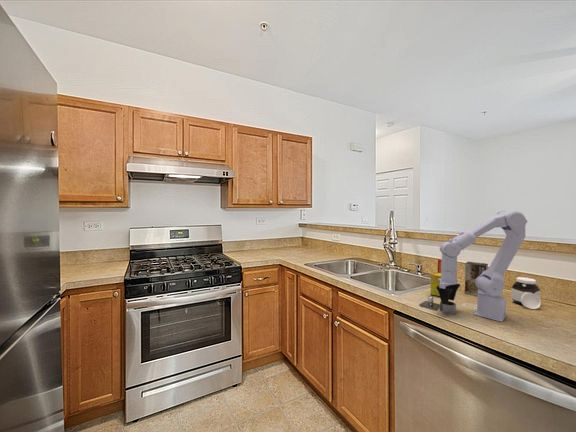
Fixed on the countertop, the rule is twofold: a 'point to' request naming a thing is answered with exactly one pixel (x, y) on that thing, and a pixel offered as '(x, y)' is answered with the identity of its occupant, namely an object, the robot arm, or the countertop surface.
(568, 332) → the countertop surface
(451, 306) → the octagonal tube
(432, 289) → the supplement box
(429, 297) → the square base with peg
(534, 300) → the spread jar
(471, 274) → the coffee box
